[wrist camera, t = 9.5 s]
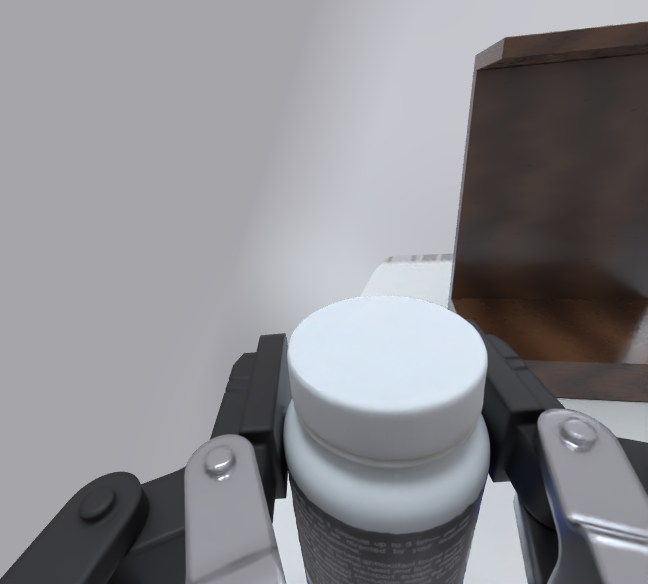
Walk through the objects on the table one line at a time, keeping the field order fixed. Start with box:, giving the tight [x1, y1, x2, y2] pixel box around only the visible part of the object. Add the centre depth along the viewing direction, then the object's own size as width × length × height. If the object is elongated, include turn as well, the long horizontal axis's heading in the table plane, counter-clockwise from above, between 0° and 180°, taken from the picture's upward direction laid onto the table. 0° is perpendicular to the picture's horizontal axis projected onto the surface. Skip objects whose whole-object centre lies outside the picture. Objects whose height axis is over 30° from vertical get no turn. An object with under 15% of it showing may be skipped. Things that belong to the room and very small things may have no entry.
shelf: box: [448, 21, 648, 402], centre depth 28 cm, size 20×12×27 cm, turn 81°
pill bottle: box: [283, 295, 490, 584], centre depth 9 cm, size 5×5×8 cm
